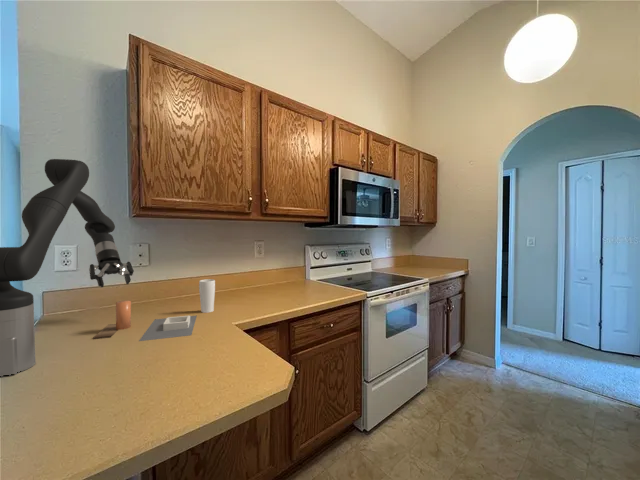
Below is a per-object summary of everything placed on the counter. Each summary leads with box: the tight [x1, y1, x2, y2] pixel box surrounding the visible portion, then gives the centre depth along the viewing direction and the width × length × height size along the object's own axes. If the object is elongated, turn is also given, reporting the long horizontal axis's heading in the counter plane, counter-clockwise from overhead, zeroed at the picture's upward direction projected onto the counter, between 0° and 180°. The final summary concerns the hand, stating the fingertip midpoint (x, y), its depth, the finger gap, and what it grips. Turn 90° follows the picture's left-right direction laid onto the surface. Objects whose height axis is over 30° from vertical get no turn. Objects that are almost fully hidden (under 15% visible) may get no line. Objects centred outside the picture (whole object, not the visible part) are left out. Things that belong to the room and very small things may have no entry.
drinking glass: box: [198, 278, 216, 314], centre depth 128 cm, size 7×7×15 cm
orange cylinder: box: [115, 300, 132, 331], centre depth 106 cm, size 5×5×10 cm
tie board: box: [138, 315, 197, 342], centre depth 107 cm, size 24×16×4 cm, turn 20°
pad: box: [93, 323, 119, 340], centre depth 106 cm, size 14×14×1 cm
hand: (115, 284), depth 112 cm, fingers open, 8 cm apart
